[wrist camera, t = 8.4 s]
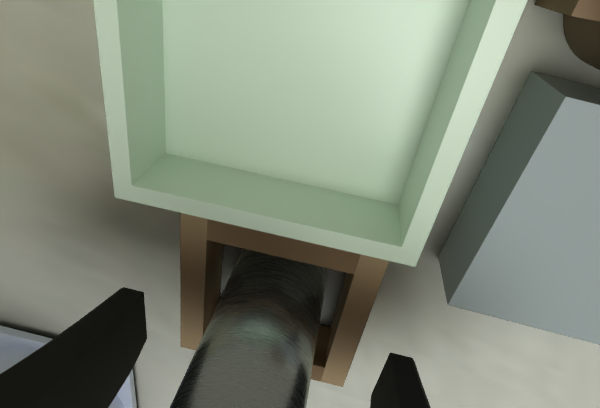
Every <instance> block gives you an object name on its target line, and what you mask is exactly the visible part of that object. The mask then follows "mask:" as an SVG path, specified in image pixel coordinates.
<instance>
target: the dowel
mask: <svg viewBox="0 0 600 408" xmlns="http://www.w3.org/2000/svg"><path fill="white" fill-rule="evenodd" d="M326 279H327V271H326V268H325V267H320V266H316V265H312V264H308V263H303V262H299V261H295V260H290V259H286V258H282V257H278V256H273V255H269V254H265V253H261V252H256V251H252V250H248V249H243V251H242V252H241V254H240V257H239V259H238V261H237V263H236V265H235V267H234V270H233V272H232V274H231V276H230V278H229V280H228V283H227V285H226V287H225V289H224V291H223V293H222V296H221V298H220V300H219V302H218V304H217V307H216V309H215V311H214V313H213V315H212V317H211V320H210V322H209V324H208V326H207V328H206V330H205V333H204V335H203V337H202V339H201V341H200V343H199V346H198V348H197V350H196V352H195V354H194V356H193V359H192V361H191V363H190V365H189V367H188V369H187V372H186V374H185V376H184V378H183V380H182V382H181V385H180V387H179V389H178V391H177V393H176V395H175V398H174V400H173V402H172V404H171V406H170V408H306V404H307V398H308V392H309V385H310V379H311V373H312V367H313V360H314V354H315V348H316V342H317V335H318V329H319V323H320V317H321V310H322V304H323V298H324V292H325V285H326Z"/></svg>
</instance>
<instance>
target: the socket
mask: <svg viewBox="0 0 600 408" xmlns="http://www.w3.org/2000/svg"><path fill="white" fill-rule="evenodd" d="M223 244H226V245H231V246H235V247H239V248H243V249H248V250H252V251H256V252H261V253H265V254H269V255H273V256H278V257H282V258H286V259H290V260H295V261H299V262H303V263H308V264H312V265H316V266H320V267H325V268H329V269H333V270H338V271H342V272H346V276H345V280H344V283H343V286H342V290H341V293H340V296H339V300H338V303H337V306H336V310H335V313H334V316H333V320H332V323H331V326H330V327H326V326H322V325H319V329H318V335H317V342H316V348H315V354H314V360H313V367H312V373H311V379H313V380H317V381H321V382H325V383H329V384H333V385H337V386H341V387H343V385H344V382H345V379H346V377H347V374H348V371H349V369H350V366H351V363H352V361H353V358H354V355H355V352H356V350H357V347H358V344H359V342H360V339H361V336H362V333H363V331H364V328H365V325H366V323H367V320H368V317H369V315H370V312H371V309H372V306H373V304H374V301H375V298H376V296H377V293H378V290H379V287H380V285H381V282H382V279H383V277H384V274H385V271H386V268H387V266H388V263H389V261H387V260H383V259H379V258H374V257H370V256H366V255H361V254H357V253H353V252H348V251H344V250H340V249H335V248H331V247H327V246H322V245H318V244H314V243H309V242H305V241H301V240H296V239H292V238H288V237H284V236H279V235H275V234H271V233H266V232H262V231H258V230H253V229H249V228H245V227H240V226H236V225H232V224H227V223H223V222H219V221H214V220H210V219H206V218H201V217H197V216H193V215H188V214H184V213H180V269H181V347H185V348H189V349H193V350H197V348H198V346H199V343H200V341H201V339H202V337H203V335H204V333H205V330H206V328H207V326H208V324H209V322H210V320H211V317H212V315H213V313H214V311H215V309H216V307H217V304H218V302H219V300H220V286H221V272H222V258H223Z"/></svg>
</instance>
